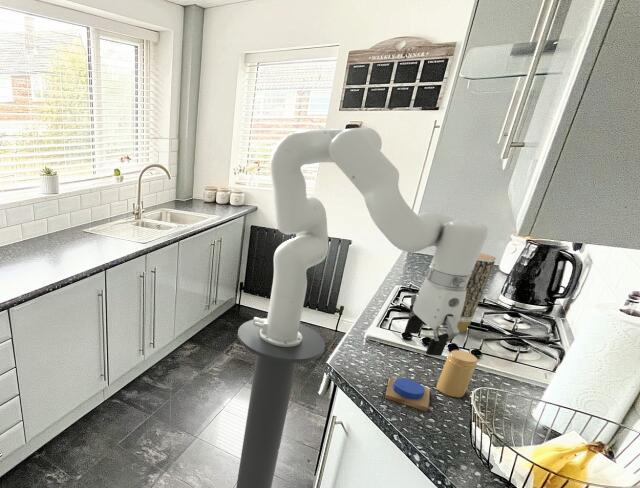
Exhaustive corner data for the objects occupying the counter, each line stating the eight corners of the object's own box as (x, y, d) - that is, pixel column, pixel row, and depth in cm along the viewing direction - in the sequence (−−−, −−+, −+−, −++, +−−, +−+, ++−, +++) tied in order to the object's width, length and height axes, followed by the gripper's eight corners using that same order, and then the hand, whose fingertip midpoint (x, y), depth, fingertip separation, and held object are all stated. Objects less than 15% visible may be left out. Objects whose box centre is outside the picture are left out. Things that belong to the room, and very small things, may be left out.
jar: (435, 391, 108) (449, 357, 103) (436, 380, 112) (449, 347, 108) (464, 400, 105) (479, 365, 100) (464, 388, 109) (478, 354, 105)
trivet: (384, 398, 106) (385, 394, 105) (388, 380, 112) (389, 377, 112) (427, 411, 101) (428, 407, 100) (428, 392, 108) (430, 389, 107)
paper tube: (471, 330, 137) (500, 258, 126) (459, 335, 134) (488, 261, 124) (449, 322, 143) (475, 251, 132) (437, 326, 140) (463, 254, 129)
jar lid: (417, 385, 108) (419, 380, 108) (427, 401, 103) (429, 395, 102) (389, 381, 110) (391, 376, 109) (396, 397, 104) (398, 391, 103)
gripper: (492, 294, 85) (460, 365, 93) (442, 264, 100) (418, 326, 108) (453, 293, 85) (425, 362, 93) (409, 262, 101) (388, 324, 109)
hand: (421, 343), depth 101 cm, fingers open, 9 cm apart
